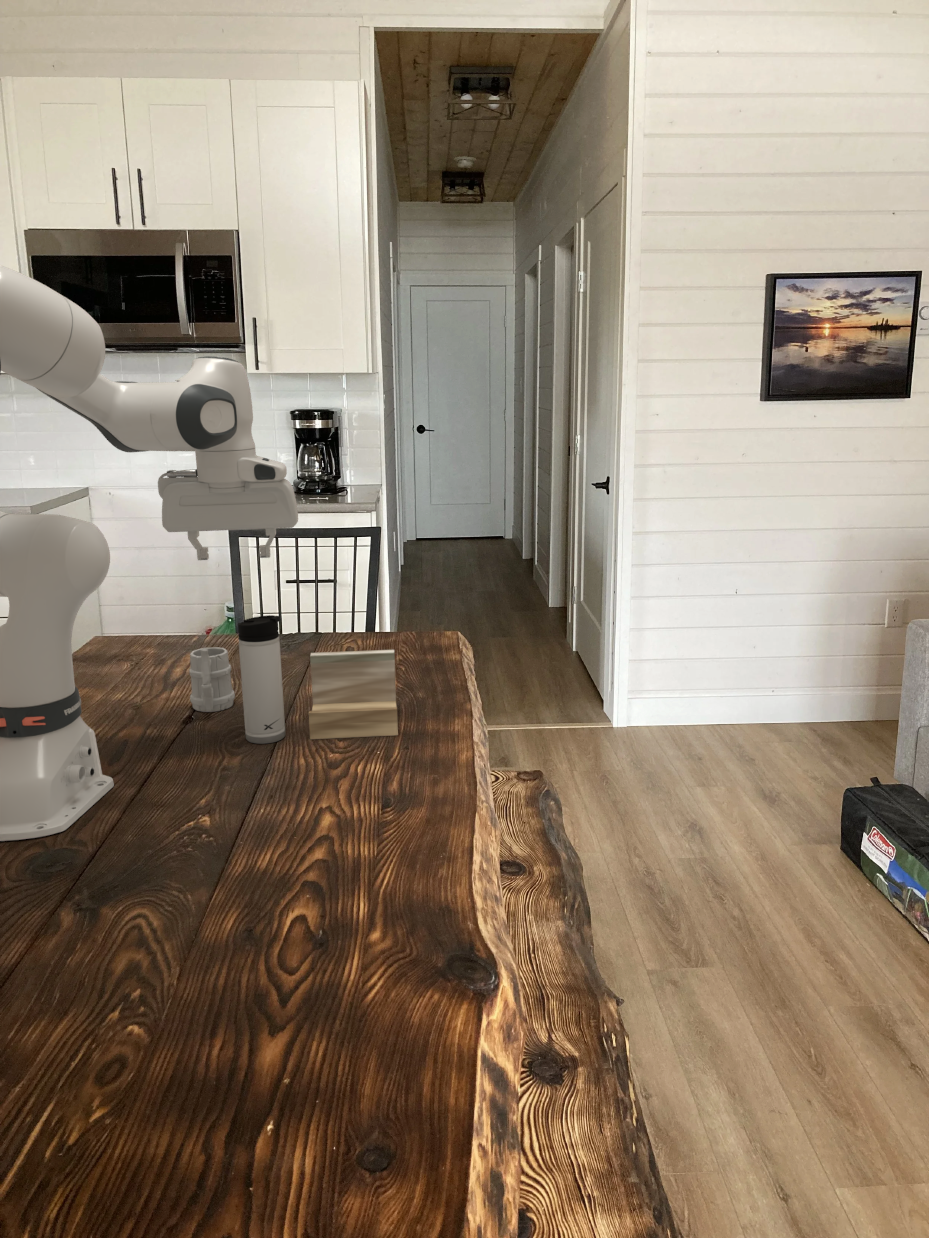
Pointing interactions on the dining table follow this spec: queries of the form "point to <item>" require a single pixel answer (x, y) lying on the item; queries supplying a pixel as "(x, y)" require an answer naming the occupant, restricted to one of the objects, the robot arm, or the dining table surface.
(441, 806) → the dining table surface
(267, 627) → the travel mug
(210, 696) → the mug
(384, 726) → the wooden l bracket
